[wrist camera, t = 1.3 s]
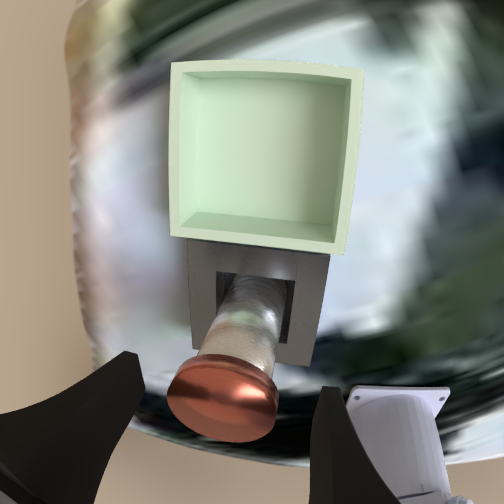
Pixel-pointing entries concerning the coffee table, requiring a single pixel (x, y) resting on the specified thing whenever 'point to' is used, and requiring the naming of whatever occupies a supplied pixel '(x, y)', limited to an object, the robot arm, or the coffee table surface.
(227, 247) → the block
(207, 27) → the coffee table surface
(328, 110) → the tray
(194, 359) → the lock pin
